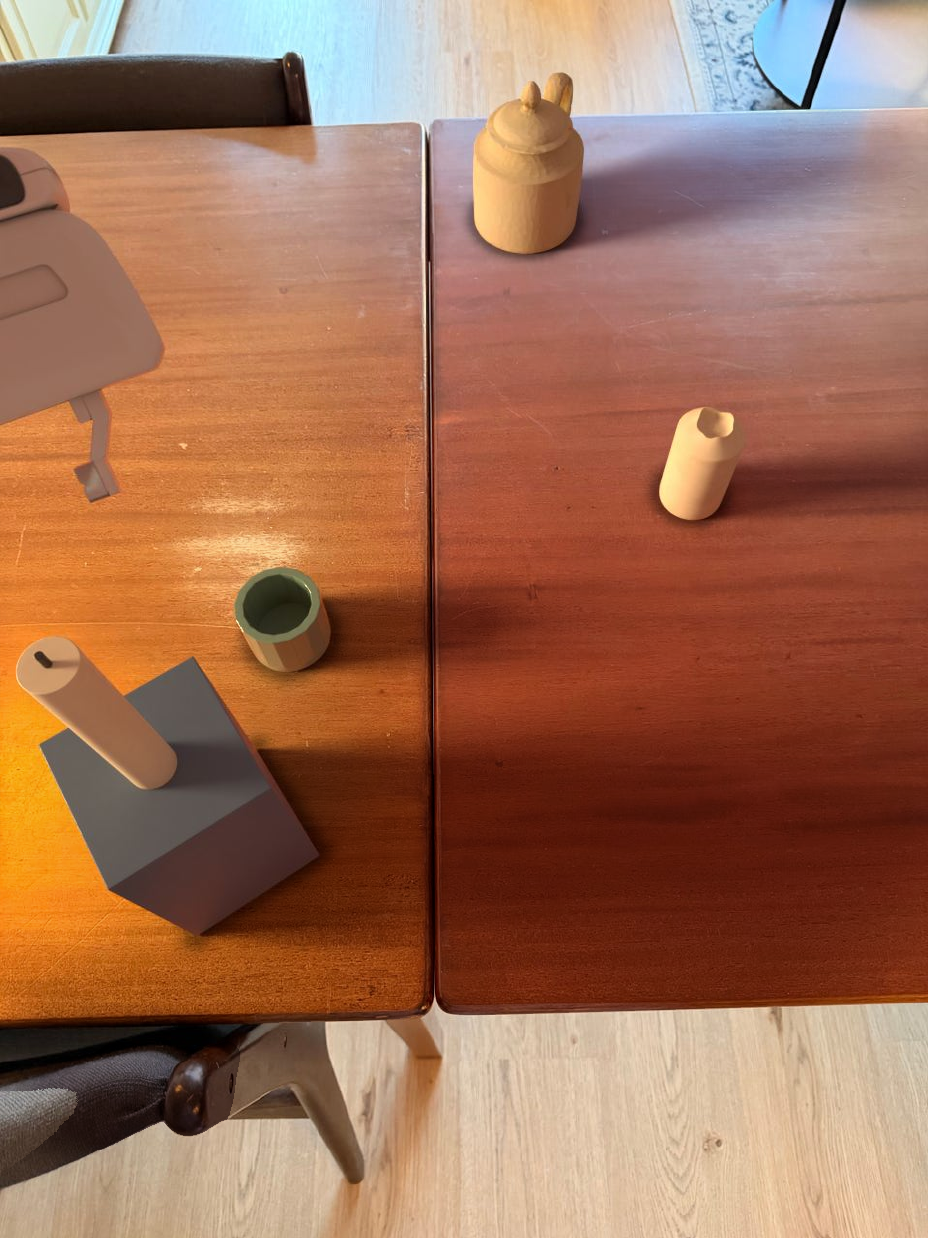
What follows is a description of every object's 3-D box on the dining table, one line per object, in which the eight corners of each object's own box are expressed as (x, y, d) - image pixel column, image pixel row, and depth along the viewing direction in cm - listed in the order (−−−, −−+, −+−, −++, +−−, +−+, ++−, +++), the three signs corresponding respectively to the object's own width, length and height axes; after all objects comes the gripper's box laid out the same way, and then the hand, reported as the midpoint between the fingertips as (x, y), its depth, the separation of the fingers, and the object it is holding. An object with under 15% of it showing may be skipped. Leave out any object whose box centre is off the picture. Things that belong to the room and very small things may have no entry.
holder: (274, 687, 72) (259, 658, 67) (236, 626, 75) (219, 594, 70) (345, 644, 74) (335, 613, 69) (305, 586, 76) (293, 553, 72)
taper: (140, 799, 51) (18, 697, 37) (120, 759, 52) (-6, 647, 38) (185, 772, 51) (81, 662, 38) (164, 733, 53) (56, 614, 39)
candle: (647, 482, 81) (667, 407, 72) (701, 461, 82) (727, 385, 73) (678, 529, 78) (702, 458, 69) (733, 508, 79) (764, 435, 70)
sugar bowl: (468, 164, 101) (466, 24, 88) (566, 159, 101) (579, 18, 88) (476, 258, 94) (476, 121, 81) (582, 252, 94) (599, 114, 81)
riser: (196, 936, 64) (107, 890, 48) (137, 820, 67) (37, 744, 52) (319, 855, 66) (271, 788, 51) (255, 748, 70) (193, 655, 55)
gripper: (-472, 305, 33) (-253, 638, 38) (76, 140, 37) (215, 461, 41) (-375, 317, 39) (-195, 604, 43) (90, 174, 43) (210, 452, 47)
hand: (9, 533), depth 42 cm, fingers open, 8 cm apart
